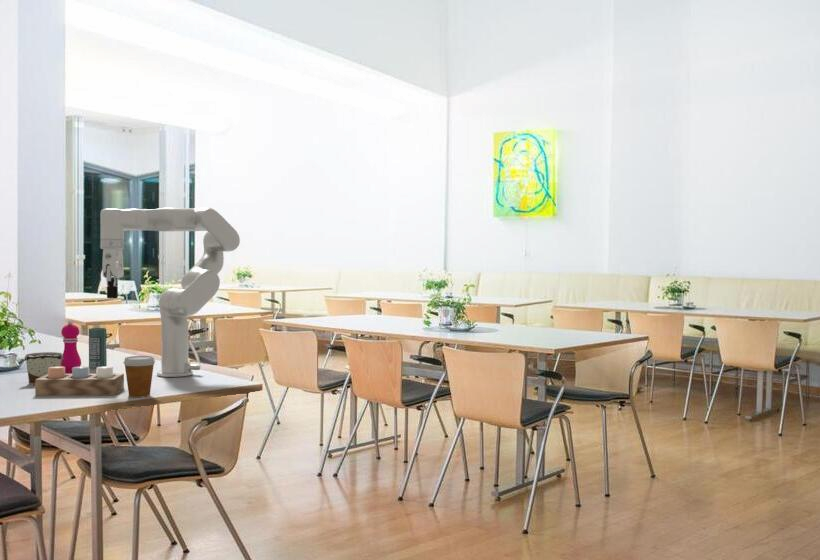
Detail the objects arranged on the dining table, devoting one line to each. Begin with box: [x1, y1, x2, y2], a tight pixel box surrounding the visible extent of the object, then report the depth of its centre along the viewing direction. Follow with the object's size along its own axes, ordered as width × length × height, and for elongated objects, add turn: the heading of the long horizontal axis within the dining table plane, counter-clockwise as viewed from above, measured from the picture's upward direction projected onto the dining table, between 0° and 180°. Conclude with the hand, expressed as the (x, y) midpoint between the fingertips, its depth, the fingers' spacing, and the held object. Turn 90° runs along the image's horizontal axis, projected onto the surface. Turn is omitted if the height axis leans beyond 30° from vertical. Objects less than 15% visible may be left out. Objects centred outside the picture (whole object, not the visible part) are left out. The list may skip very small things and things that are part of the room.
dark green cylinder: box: [88, 327, 108, 369], centre depth 319 cm, size 6×6×15 cm
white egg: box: [95, 366, 114, 378], centre depth 266 cm, size 5×5×6 cm
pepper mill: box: [60, 319, 82, 374], centre depth 298 cm, size 7×7×20 cm
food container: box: [23, 351, 64, 385], centre depth 283 cm, size 12×6×10 cm, turn 111°
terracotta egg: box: [48, 367, 65, 378], centre depth 264 cm, size 5×5×6 cm
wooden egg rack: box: [34, 373, 125, 396], centre depth 265 cm, size 24×12×5 cm, turn 95°
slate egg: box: [72, 366, 90, 378], centre depth 265 cm, size 5×5×6 cm
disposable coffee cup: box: [122, 355, 156, 398], centre depth 260 cm, size 10×10×12 cm
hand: (112, 298), depth 283 cm, fingers closed
